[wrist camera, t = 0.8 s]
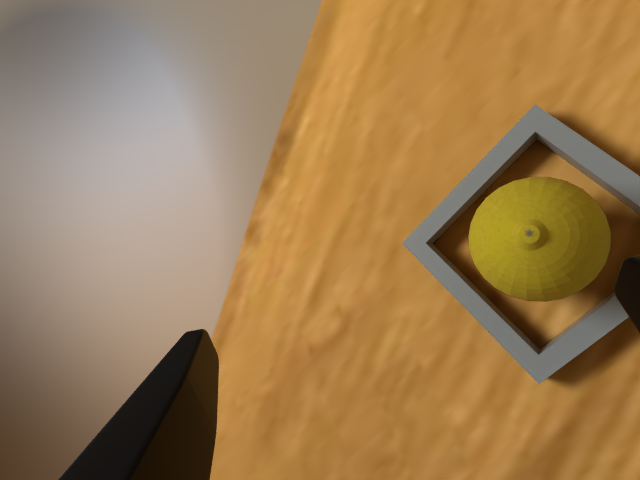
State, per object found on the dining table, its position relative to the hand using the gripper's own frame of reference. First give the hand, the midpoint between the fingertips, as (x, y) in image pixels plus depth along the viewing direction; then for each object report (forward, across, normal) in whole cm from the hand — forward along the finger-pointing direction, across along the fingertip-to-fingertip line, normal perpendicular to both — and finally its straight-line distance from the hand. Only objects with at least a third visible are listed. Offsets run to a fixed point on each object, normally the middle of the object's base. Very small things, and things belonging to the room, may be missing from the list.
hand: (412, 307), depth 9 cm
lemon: (+11, -10, +8) cm, 16 cm away
